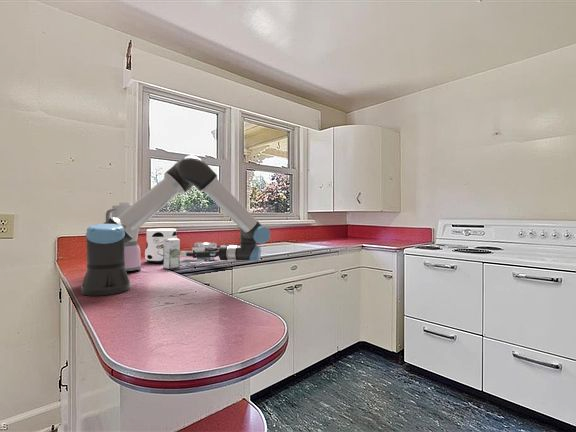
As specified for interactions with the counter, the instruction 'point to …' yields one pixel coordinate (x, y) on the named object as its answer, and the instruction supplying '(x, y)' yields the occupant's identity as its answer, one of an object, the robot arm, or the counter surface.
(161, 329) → the counter surface
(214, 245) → the pillow block with shaft stub
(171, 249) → the syrup box
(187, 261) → the steel flange
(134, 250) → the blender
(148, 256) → the milk container
